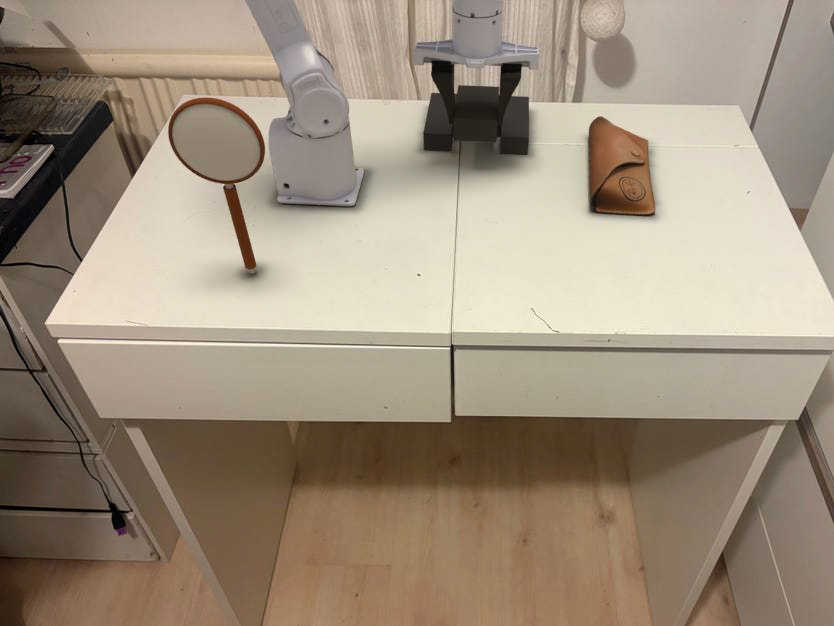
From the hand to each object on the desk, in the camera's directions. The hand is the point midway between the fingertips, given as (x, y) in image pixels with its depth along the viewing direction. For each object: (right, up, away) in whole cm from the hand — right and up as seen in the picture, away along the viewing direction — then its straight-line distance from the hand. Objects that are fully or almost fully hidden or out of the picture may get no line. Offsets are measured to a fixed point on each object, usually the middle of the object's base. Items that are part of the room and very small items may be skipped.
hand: (475, 121), depth 89 cm
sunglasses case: (+19, -6, +3) cm, 20 cm away
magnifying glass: (-24, -21, -12) cm, 34 cm away
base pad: (0, +2, +10) cm, 11 cm away
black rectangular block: (0, +1, +3) cm, 3 cm away
